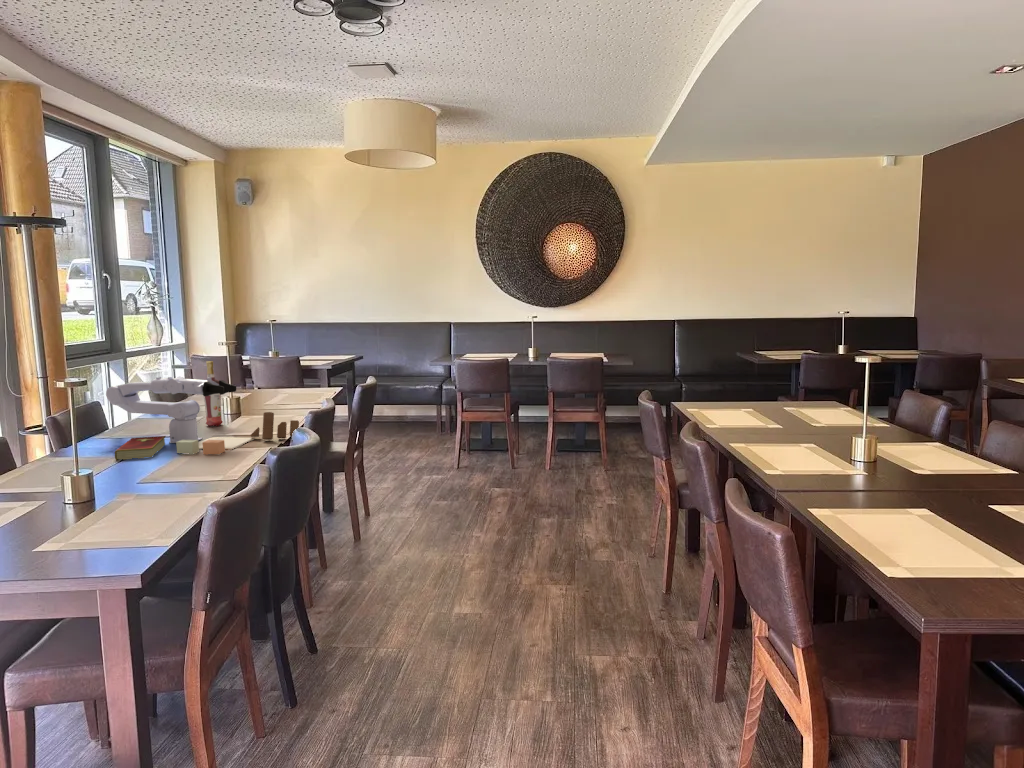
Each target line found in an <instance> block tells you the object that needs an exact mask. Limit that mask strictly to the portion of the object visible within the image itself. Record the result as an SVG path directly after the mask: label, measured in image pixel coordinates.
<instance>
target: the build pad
mask: <svg viewBox="0 0 1024 768" xmlns="http://www.w3.org/2000/svg"><path fill="white" fill-rule="evenodd" d="M207 440H224V444H225V449H228V450H227V451H233V450H235V449H237V448H239V447H242V446H243V444H244V445H246V444H248V443H249V442H252V441H255V440H256V437H237V436H236V437H235V436H234V437H232V436H231V437H228V436H227V437H226V436H225V437H224V436H223V437H222V436H218V437H217V436H213V437H209V438H207V439H204V440H200V441H198V444H199V449H203V442H205V441H207ZM247 442H248V443H247ZM245 443H246V444H245ZM234 448H235V449H234ZM232 449H233V450H232Z"/></svg>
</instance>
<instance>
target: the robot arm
mask: <svg viewBox="0 0 1024 768" xmlns="http://www.w3.org/2000/svg"><path fill="white" fill-rule="evenodd" d="M218 381H219V384H218V383H216V382H214V381H212V378H211V377H208V378H207V377H206V379H195V378H186V377H183V376H178V377H174V378H173V377H172V376H169V377H167V378H165V377H164V378H162V376H158V377H155V378H154V379H152V380H151V381H146V382H145V381H134V382H128V383H124V384H119V385H115V386H109V387H108V388H107V389H106V391H105V395H106V398H107V400H108V401H109V403H110V404H111V405H112V406H117V407H118V408H120V409H122V410H124V411H126V412H127V413H130V414H145V415H161V416H167V417H169V418H173V419H171V420H170V422H169V424H168V428H169V429H168V430H169V432H168V433H169V442H168V443H169V444H176V442H178V441H180V440H198V442H200V441H202V440H203V437H199V435H198V434H199V433H198V422H197V421H198V420H197V417H198V414H199V413H200V409H201V408H200V404H199V402H198V401H196V400H195V399H189V400H187V401H177V402H172V401H171V402H170V401H168V402H167V401H151V400H141V399H140V396H139V394H138V393H139V392H147V391H151V392H152V393H153V394H171V395H176V394H178V393H181V394H187V395H188V394H189V395H201V396H203V397H204V396H211V395H212V394H219V393H220V395H221V396H222V395H225V394H227V393H235V392H237V385H234V384H231V383H228V382H227V381H225V380H222V379H221V380H219V379H218Z"/></svg>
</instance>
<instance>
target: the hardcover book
mask: <svg viewBox="0 0 1024 768" xmlns="http://www.w3.org/2000/svg"><path fill="white" fill-rule="evenodd" d="M166 437H167V436H166V435H159V436H156V435H155V436H143V437H140V436H139V437H131V438H130V439H129V440H127V441H126V442H125V443H124V444H122V445H121V446H119V447H118V448H117V449H116V450H115V452H114V458H115V461H118V460H117V459H123V460H133V459H132V458H138V459H145V458H144V457H152V456H153V455H154V454H155V453H156V452H157V451H158V452H160V451H161V450H162V449H163V448H164V447H165V446H166V445H165V444H166V441H165V438H166ZM164 445H165V446H164ZM163 446H164V447H163ZM158 452H157V453H158ZM157 453H156V454H157ZM156 454H155V455H156ZM155 455H154V456H155ZM154 456H153V457H154ZM153 457H152V458H153Z"/></svg>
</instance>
